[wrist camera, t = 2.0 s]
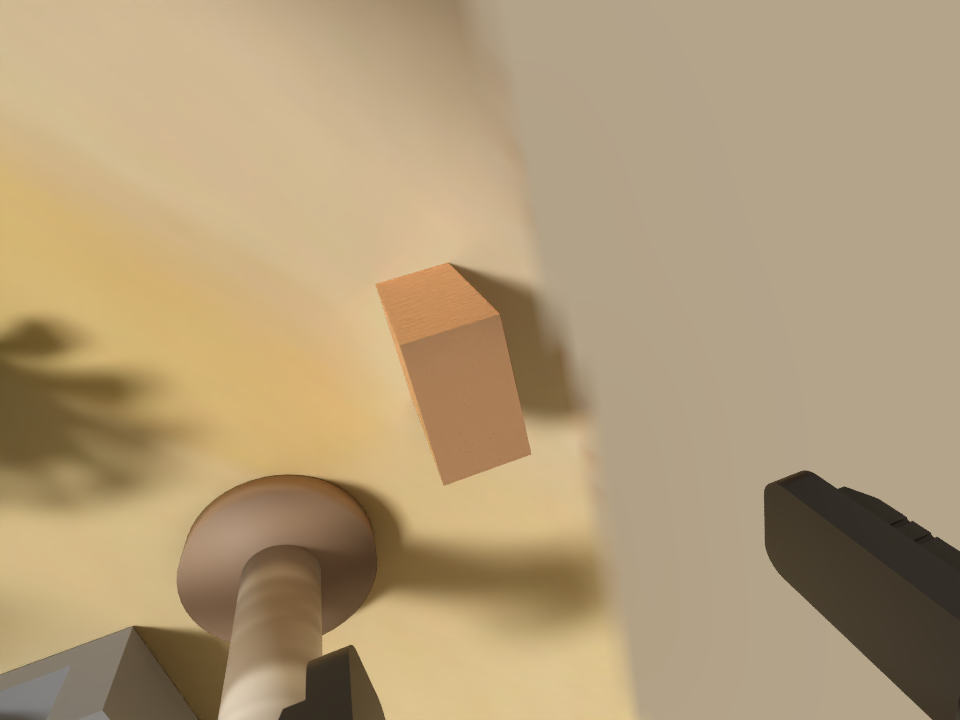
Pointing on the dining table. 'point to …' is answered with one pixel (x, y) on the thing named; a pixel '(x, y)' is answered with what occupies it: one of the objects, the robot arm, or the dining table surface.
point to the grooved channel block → (94, 685)
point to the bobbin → (275, 583)
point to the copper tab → (456, 371)
